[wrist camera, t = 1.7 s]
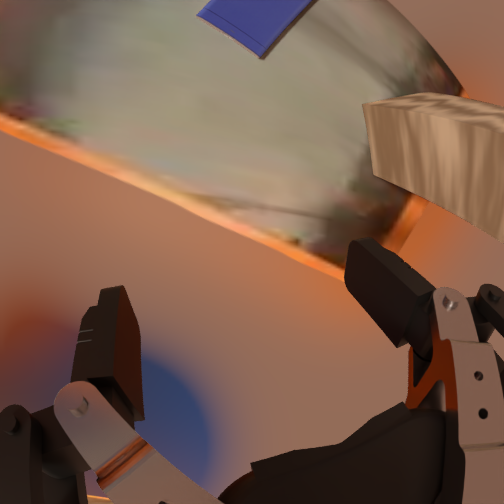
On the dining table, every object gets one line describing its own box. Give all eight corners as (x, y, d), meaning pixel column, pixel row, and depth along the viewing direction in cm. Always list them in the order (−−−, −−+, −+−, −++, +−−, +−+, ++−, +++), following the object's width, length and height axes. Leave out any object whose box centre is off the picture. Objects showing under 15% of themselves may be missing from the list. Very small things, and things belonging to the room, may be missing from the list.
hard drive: (267, -50, 17) (196, 14, 20) (322, -9, 21) (261, 57, 24) (262, -45, 19) (194, 18, 22) (315, -6, 23) (256, 59, 26)
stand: (373, 174, 36) (593, 315, 8) (362, 104, 31) (636, 205, 3) (433, 151, 38) (611, 245, 10) (427, 91, 32) (630, 163, 5)
